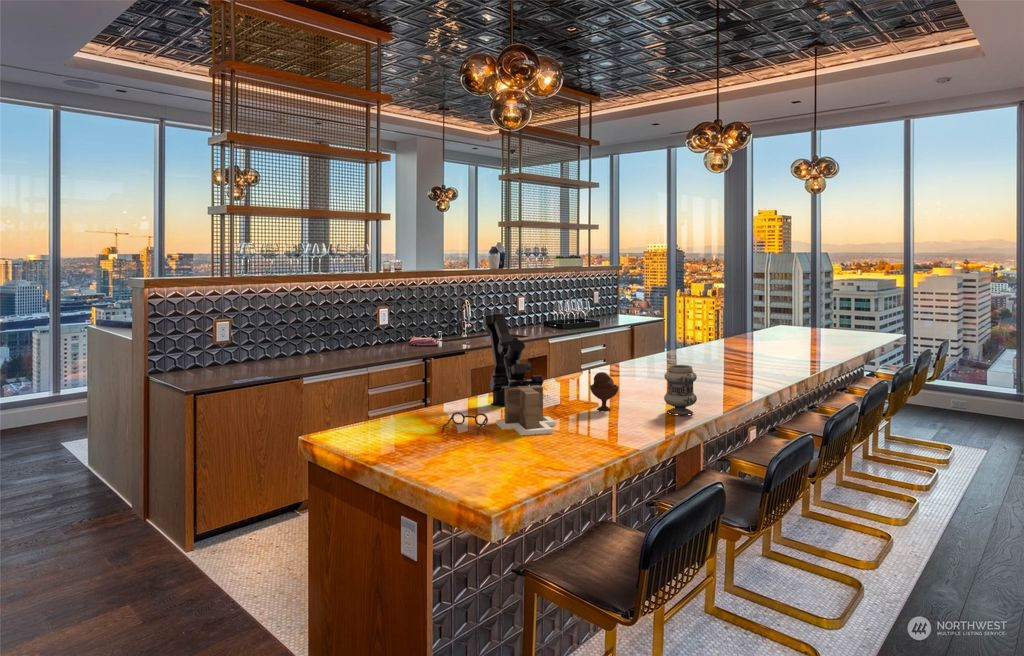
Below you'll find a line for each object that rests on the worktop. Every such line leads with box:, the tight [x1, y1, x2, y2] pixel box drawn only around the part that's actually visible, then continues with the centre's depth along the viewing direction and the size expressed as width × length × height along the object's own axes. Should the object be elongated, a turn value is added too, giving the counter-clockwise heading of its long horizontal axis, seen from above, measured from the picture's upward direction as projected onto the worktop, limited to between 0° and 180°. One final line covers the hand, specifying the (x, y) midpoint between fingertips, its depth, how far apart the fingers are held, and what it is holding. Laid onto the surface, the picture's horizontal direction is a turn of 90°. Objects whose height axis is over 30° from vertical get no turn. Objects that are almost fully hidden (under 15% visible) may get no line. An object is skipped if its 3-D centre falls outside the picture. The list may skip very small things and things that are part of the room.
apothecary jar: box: [663, 364, 698, 415], centre depth 245 cm, size 12×12×18 cm
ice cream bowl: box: [589, 371, 620, 412], centre depth 251 cm, size 11×11×15 cm
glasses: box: [441, 411, 489, 436], centre depth 224 cm, size 13×13×5 cm
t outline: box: [495, 415, 557, 437], centre depth 226 cm, size 17×19×2 cm
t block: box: [504, 385, 544, 429], centre depth 227 cm, size 13×13×13 cm
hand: (522, 403), depth 234 cm, fingers closed, pressing on t block
